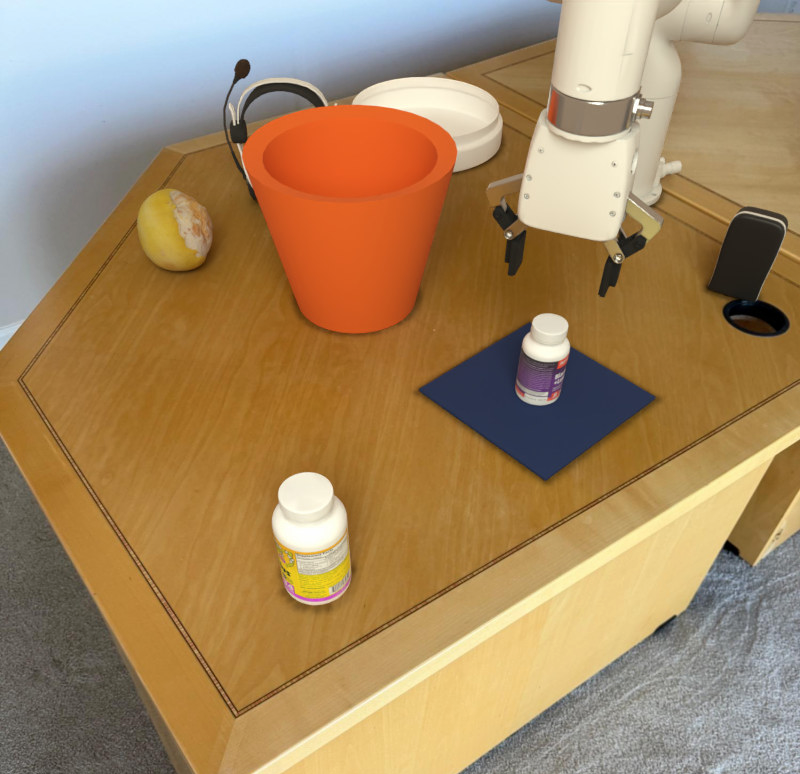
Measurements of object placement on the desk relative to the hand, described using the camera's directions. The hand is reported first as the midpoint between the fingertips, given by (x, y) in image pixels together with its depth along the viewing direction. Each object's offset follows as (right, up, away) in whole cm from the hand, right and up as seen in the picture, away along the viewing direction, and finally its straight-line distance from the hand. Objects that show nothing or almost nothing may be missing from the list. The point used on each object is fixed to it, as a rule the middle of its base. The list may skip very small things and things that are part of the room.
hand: (558, 279), depth 80 cm
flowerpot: (-23, +5, +24) cm, 34 cm away
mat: (0, -10, +12) cm, 15 cm away
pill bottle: (0, -10, +12) cm, 15 cm away
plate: (-12, +43, +55) cm, 71 cm away
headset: (-34, +26, +41) cm, 59 cm away
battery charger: (+30, +7, +26) cm, 40 cm away
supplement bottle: (-25, -31, -6) cm, 40 cm away
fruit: (-48, +12, +29) cm, 57 cm away
